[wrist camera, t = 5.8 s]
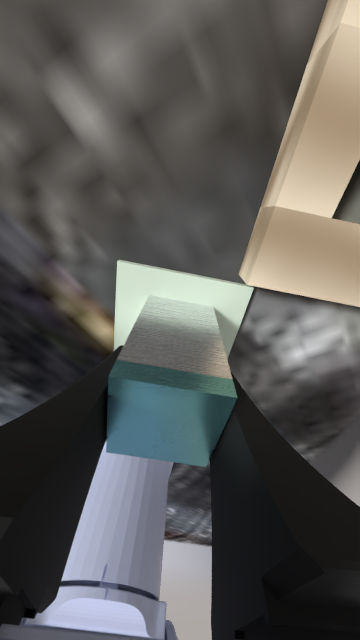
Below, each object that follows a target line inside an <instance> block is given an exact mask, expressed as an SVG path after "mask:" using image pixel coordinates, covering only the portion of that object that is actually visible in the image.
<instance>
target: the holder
mask: <svg viewBox="0 0 360 640" xmlns="http://www.w3.org/2000/svg"><path fill="white" fill-rule="evenodd" d="M359 160H360V0H328V2H327V5H326V8H325V11H324V14H323V17H322V20H321V24H320V27H319V30H318V33H317V36H316V39H315V42H314V45H313V48H312V51H311V54H310V57H309V60H308V63H307V66H306V70H305V73H304V76H303V79H302V82H301V85H300V88H299V91H298V94H297V97H296V100H295V103H294V106H293V109H292V112H291V116H290V119H289V122H288V125H287V128H286V131H285V134H284V137H283V140H282V143H281V146H280V149H279V152H278V155H277V158H276V161H275V165H274V168H273V171H272V174H271V177H270V180H269V183H268V186H267V189H266V192H265V195H264V198H263V201H262V204H261V207H260V211H259V214H258V217H257V220H256V223H255V226H254V229H253V232H252V235H251V238H250V241H249V244H248V247H247V250H246V253H245V257H244V260H243V263H242V266H241V269H240V272H239V275H240V277H241V278H242V279H243V280H244V281H245V283H246V284H247V285H251V286H256V287H261V288H266V289H271V290H276V291H281V292H286V293H291V294H296V295H301V296H306V297H312V298H317V299H322V300H327V301H332V302H337V303H342V304H347V305H352V306H357V307H360V224H355V223H351V222H346V221H342V220H337V219H333V218H332V216H333V214H334V212H335V210H336V208H337V206H338V204H339V202H340V199H341V197H342V195H343V193H344V191H345V189H346V187H347V185H348V183H349V181H350V179H351V177H352V174H353V172H354V170H355V168H356V166H357V164H358V162H359Z"/></svg>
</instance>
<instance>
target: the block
mask: <svg viewBox="0 0 360 640" xmlns="http://www.w3.org/2000/svg"><path fill="white" fill-rule="evenodd" d="M236 400H237V394H236V390H235V386H234V383H233V379H232V375H231V371H230V368H229V364H228V360H227V357H226V353H225V349H224V345H223V342H222V338H221V334H220V330H219V327H218V323H217V319H216V315H215V312H214V308H213V307H211V306H206V305H200V304H195V303H190V302H185V301H179V300H174V299H169V298H163V297H158V296H153V295H149V296H148V298H147V300H146V302H145V304H144V306H143V308H142V310H141V312H140V314H139V316H138V318H137V320H136V322H135V324H134V326H133V328H132V330H131V332H130V334H129V336H128V338H127V340H126V342H125V344H124V346H123V348H122V350H121V352H120V354H119V356H118V358H117V360H116V362H115V364H114V366H113V368H112V370H111V372H110V374H109V376H108V405H107V440H106V452H107V453H114V454H121V455H127V456H134V457H141V458H148V459H155V460H161V461H168V462H175V463H182V464H189V465H195V466H202V467H206V466H207V464H208V462H209V460H210V457H211V455H212V453H213V451H214V449H215V446H216V444H217V442H218V440H219V438H220V435H221V433H222V431H223V429H224V427H225V424H226V422H227V420H228V418H229V416H230V413H231V411H232V409H233V407H234V405H235V402H236Z"/></svg>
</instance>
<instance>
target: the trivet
mask: <svg viewBox="0 0 360 640" xmlns="http://www.w3.org/2000/svg"><path fill="white" fill-rule="evenodd" d="M253 289H254V287H253V286H251V285H246V284H241V283H236V282H230V281H225V280H220V279H215V278H210V277H205V276H200V275H195V274H190V273H185V272H180V271H174V270H169V269H164V268H159V267H154V266H149V265H144V264H139V263H134V262H129V261H124V260H118V261H117V282H116V306H115V330H114V350H116V349H117V348H118V347H119V346H121V345H123V346H124V344H125V342H126V340H127V338H128V336H129V334H130V332H131V330H132V328H133V326H134V324H135V322H136V320H137V318H138V316H139V314H140V312H141V310H142V308H143V306H144V304H145V302H146V300H147V298H148V296H149V295H153V296H158V297H163V298H169V299H174V300H179V301H185V302H190V303H195V304H200V305H206V306H211V307H213V308H214V312H215V315H216V319H217V323H218V327H219V330H220V334H221V338H222V342H223V345H224V349H225V353H226V357H227V359H228V356H229V353H230V351H231V348H232V345H233V343H234V340H235V337H236V335H237V332H238V329H239V327H240V324H241V321H242V319H243V316H244V313H245V311H246V308H247V305H248V303H249V300H250V297H251V295H252V292H253Z"/></svg>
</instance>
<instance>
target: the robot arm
mask: <svg viewBox="0 0 360 640" xmlns="http://www.w3.org/2000/svg"><path fill="white" fill-rule="evenodd" d="M122 348H123V345H121V346H119V347H118V348H117V349H116V350H114V351H113V352H112V353H111V354H110V355H109V356H108V357H107V358H106V359H104V360H103V361H102V362H101V363H100V364H98V365H97V366H96V367H95V368H94V369H92V370H91V371H90V372H89V373H87V374H86V375H85V376H83V377H82V378H81V379H79V380H78V381H77V382H75V383H74V384H72V385H71V386H70V387H68V388H67V389H65V390H64V391H62V392H61V393H59V394H58V395H56V396H54V397H53V398H51V399H50V400H48V401H46V402H45V403H43V404H41V405H39V406H38V407H36V408H34V409H32V410H31V411H29V412H27V413H25V414H24V415H22V416H20V417H18V418H16V419H14V420H12V421H10V422H8V423H6V424H4V425H2V426H0V640H178V638H177V636H176V632H175V629H174V626H173V624H172V622H171V621H169V620H166V602H163V601H159V595H160V582H161V570H162V556H163V544H164V531H165V518H166V505H167V492H168V480H169V476H170V473H171V470H172V467H173V464H174V462H168V461H161V460H155V459H148V458H141V457H134V456H127V455H121V454H114V453H107V452H106V440H107V405H108V376H109V374H110V372H111V370H112V368H113V366H114V364H115V362H116V360H117V358H118V356H119V354H120V352H121V350H122ZM231 375H232V379H233V383H234V386H235V390H236V394H237V400H236V402H235V405H234V407H233V409H232V411H231V413H230V416H229V418H228V420H227V422H226V424H225V427H224V429H223V431H222V433H221V435H220V438H219V440H218V442H217V444H216V446H215V449H214V451H213V453H212V455H211V457H210V472H211V506H212V606H211V607H212V608H211V629H212V640H360V507H359V506H358V505H356V504H355V503H354V502H353V501H351V500H350V499H349V498H348V497H347V496H345V495H344V494H343V493H342V492H341V491H340V490H338V489H337V488H336V487H335V486H334V485H333V484H332V483H330V482H329V481H328V480H327V479H326V478H324V477H323V476H322V475H321V474H320V473H319V472H318V471H317V470H316V469H315V468H313V467H312V466H311V465H310V464H309V463H308V462H307V461H306V460H305V459H304V458H303V457H302V456H301V455H300V454H299V453H298V452H297V451H296V450H295V449H294V448H293V447H292V446H291V445H290V444H289V443H288V442H287V441H286V440H285V439H284V438H283V437H282V436H281V435H280V434H279V433H278V432H277V431H276V429H275V428H274V427H273V426H272V425H271V424H270V423H269V422H268V420H267V419H266V418H265V417H264V416H263V414H262V413H261V412H260V411H259V410H258V408H257V407H256V406H255V405H254V403H253V402H252V401H251V399H250V398H249V397H248V395H247V394H246V393H245V391H244V390H243V388H242V387H241V386H240V384H239V383H238V381H237V380H236V378H235V377H234V375H233V374H232V372H231Z"/></svg>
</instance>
